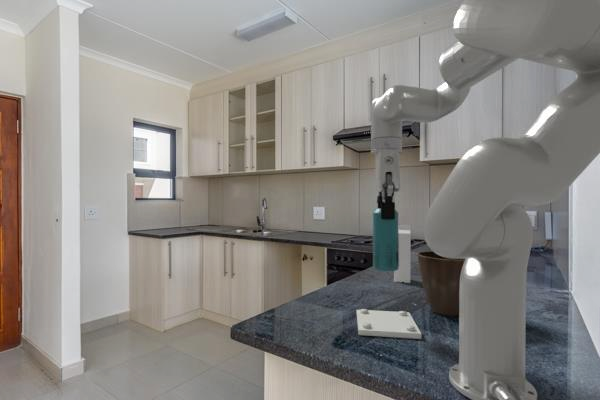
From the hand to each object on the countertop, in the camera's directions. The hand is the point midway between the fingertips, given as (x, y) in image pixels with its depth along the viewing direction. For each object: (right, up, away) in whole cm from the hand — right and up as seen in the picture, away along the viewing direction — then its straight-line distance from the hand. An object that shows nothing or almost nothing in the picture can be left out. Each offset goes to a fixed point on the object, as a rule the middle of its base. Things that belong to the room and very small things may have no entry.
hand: (385, 217), depth 80 cm
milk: (+18, -27, +45) cm, 56 cm away
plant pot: (+20, -27, +10) cm, 35 cm away
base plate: (0, -27, 0) cm, 27 cm away
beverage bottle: (0, -14, 0) cm, 14 cm away
